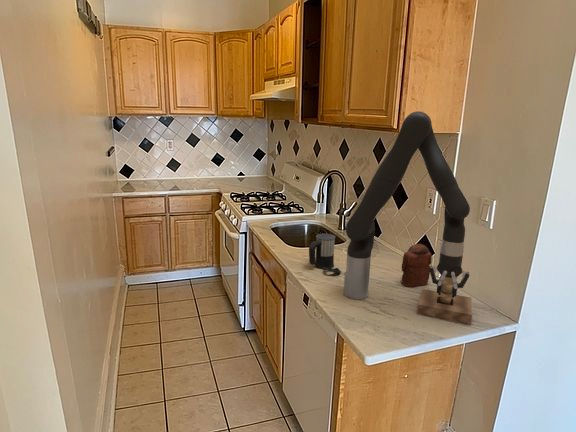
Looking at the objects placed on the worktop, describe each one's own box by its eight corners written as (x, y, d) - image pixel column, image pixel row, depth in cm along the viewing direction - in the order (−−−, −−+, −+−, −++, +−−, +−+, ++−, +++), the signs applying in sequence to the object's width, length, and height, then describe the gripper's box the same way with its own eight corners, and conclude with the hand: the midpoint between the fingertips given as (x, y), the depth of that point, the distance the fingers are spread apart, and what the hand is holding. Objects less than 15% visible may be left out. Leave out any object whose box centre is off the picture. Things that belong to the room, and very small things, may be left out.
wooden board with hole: (416, 314, 142) (417, 304, 141) (420, 297, 154) (421, 288, 153) (470, 325, 135) (472, 314, 134) (470, 307, 147) (471, 297, 146)
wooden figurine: (420, 279, 171) (425, 240, 166) (430, 285, 165) (434, 245, 160) (397, 282, 168) (401, 243, 163) (406, 289, 162) (410, 248, 157)
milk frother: (321, 260, 191) (322, 231, 187) (350, 268, 183) (351, 238, 179) (305, 269, 180) (306, 239, 176) (335, 278, 171) (337, 246, 167)
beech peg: (439, 302, 142) (442, 277, 140) (439, 297, 146) (442, 273, 143) (451, 304, 141) (454, 279, 138) (451, 299, 144) (454, 275, 142)
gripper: (429, 252, 138) (424, 296, 142) (473, 258, 132) (467, 303, 137) (431, 245, 144) (426, 287, 149) (473, 251, 139) (467, 295, 143)
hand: (446, 295), depth 143 cm, fingers closed on beech peg, 4 cm apart
